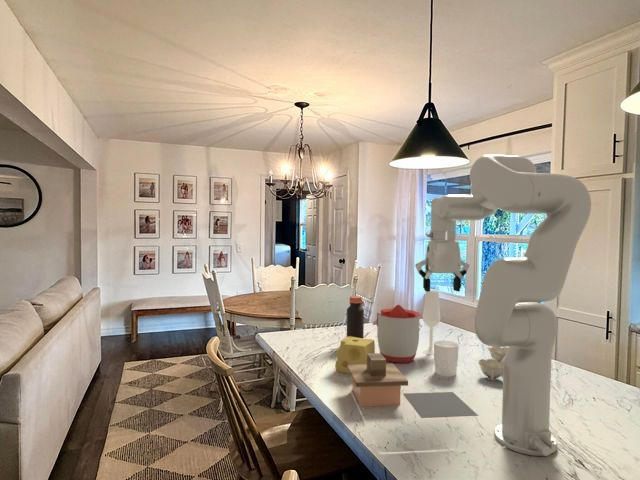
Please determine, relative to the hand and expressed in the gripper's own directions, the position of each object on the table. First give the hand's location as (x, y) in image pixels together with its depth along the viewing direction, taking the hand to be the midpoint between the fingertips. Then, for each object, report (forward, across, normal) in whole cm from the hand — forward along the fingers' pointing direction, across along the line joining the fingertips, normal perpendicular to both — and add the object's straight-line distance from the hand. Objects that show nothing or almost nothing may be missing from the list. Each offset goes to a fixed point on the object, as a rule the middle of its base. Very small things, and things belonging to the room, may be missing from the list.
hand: (441, 290), depth 129 cm
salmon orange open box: (+28, -24, -12) cm, 39 cm away
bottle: (+28, -20, +38) cm, 52 cm away
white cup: (+28, +4, +5) cm, 29 cm away
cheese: (+29, -25, +11) cm, 40 cm away
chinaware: (+29, +25, +4) cm, 38 cm away
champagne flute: (+28, +8, +28) cm, 41 cm away
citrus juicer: (+28, -8, +22) cm, 37 cm away
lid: (+22, -24, -12) cm, 35 cm away
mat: (+28, -8, -18) cm, 34 cm away
